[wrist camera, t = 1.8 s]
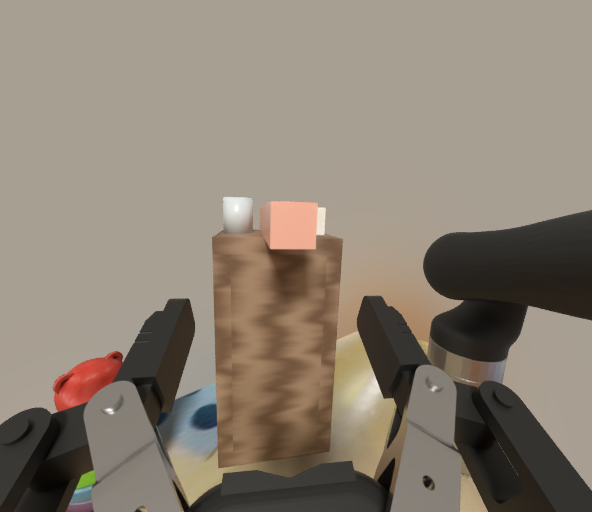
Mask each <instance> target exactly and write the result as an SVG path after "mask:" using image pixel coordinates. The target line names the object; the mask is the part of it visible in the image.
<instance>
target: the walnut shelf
mask: <svg viewBox="0 0 592 512" xmlns="http://www.w3.org/2000/svg"><path fill="white" fill-rule="evenodd" d="M342 243H343V239H341V238H337V237H333V236H330V235H327V234H324V235H316V249H270V248H269V246H268V244H267V242H266V241H265V239H264V237H263V235H262V233H261V231H260V230H253V233H245V234H236V233H224V230H223V231H221V232H220V233H218V234H217V235H215V236H214V237H212V248H213V283H214V319H215V356H216V357H215V358H216V395H217V431H218V468H222V467H229V466H235V465H242V464H248V463H255V462H261V461H268V460H274V459H281V458H287V457H294V456H300V455H307V454H314V453H320V452H327V451H329V446H330V431H331V415H332V400H333V384H334V369H335V353H336V338H337V322H338V306H339V290H340V275H341V260H342Z"/></svg>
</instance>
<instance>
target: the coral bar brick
mask: <svg viewBox="0 0 592 512" xmlns="http://www.w3.org/2000/svg"><path fill="white" fill-rule="evenodd" d="M317 209H318V203H307V202H305V203H304V202H282V201H270V202H268V203H266V204H265V205H262V206H260V231H261V233H262V235H263V237H264V239H265V241H266V242H267V244H268V246H269V248H270V249H316V231H317Z"/></svg>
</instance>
